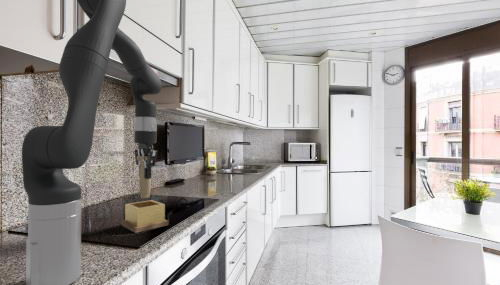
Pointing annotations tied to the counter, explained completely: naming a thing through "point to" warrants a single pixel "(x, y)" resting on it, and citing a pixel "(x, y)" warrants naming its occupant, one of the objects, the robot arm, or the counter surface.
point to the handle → (144, 183)
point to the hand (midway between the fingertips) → (145, 177)
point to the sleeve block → (144, 216)
